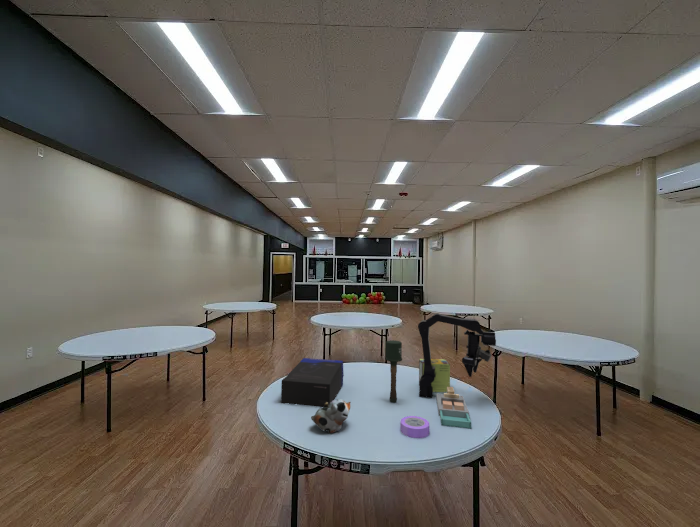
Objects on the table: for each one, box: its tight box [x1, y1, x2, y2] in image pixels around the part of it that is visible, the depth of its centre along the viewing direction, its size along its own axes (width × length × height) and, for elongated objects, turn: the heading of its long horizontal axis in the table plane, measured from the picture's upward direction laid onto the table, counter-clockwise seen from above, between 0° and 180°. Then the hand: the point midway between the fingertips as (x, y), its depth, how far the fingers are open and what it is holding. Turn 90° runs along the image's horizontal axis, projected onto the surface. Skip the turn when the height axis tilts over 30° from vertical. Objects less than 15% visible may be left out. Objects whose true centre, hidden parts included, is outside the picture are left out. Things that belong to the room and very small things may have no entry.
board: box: [435, 392, 470, 418], centre depth 151 cm, size 13×20×3 cm, turn 168°
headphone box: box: [280, 357, 345, 408], centre depth 169 cm, size 25×35×14 cm
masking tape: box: [399, 415, 430, 439], centre depth 128 cm, size 12×12×4 cm
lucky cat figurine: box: [310, 398, 351, 434], centre depth 131 cm, size 15×12×14 cm
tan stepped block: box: [441, 386, 465, 406], centre depth 153 cm, size 10×12×4 cm
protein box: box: [418, 358, 451, 393], centre depth 178 cm, size 10×15×16 cm
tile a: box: [443, 401, 452, 409], centre depth 145 cm, size 4×4×2 cm
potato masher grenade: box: [385, 339, 403, 404], centre depth 158 cm, size 8×9×30 cm
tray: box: [439, 411, 472, 430], centre depth 136 cm, size 12×9×3 cm
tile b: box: [454, 402, 464, 411], centre depth 144 cm, size 4×4×2 cm
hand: (472, 374), depth 160 cm, fingers open, 9 cm apart
